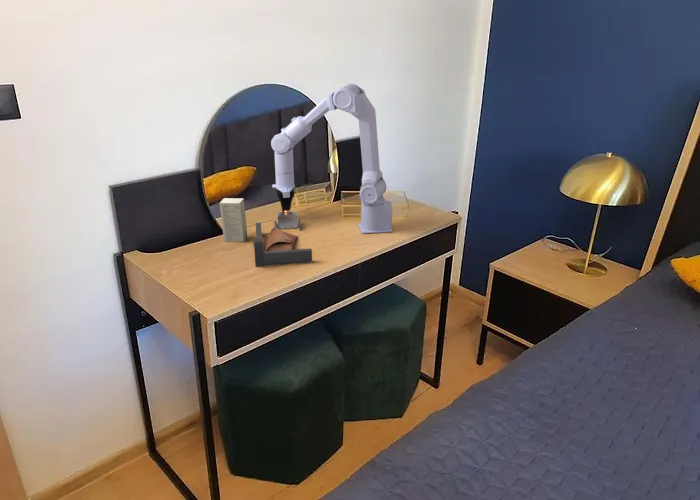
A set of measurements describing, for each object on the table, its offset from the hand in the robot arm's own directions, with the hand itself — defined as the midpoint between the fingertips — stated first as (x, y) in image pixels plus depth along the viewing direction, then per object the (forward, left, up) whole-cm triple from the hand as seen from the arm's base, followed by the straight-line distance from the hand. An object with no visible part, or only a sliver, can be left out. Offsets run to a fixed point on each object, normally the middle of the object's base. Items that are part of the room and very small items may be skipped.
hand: (286, 212), depth 183 cm
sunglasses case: (+3, +23, -3) cm, 23 cm away
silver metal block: (0, +7, -3) cm, 7 cm away
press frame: (+2, +19, -3) cm, 19 cm away
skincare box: (+16, +14, -3) cm, 21 cm away
